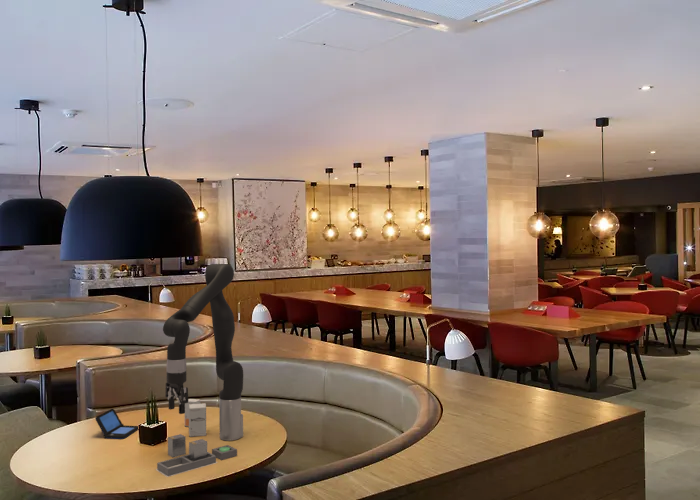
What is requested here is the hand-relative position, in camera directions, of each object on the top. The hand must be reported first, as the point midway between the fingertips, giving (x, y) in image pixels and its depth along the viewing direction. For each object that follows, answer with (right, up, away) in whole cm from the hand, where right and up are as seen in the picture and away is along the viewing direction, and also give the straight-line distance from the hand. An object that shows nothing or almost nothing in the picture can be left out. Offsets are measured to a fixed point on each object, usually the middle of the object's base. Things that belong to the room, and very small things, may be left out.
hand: (176, 411), depth 239 cm
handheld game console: (-34, -18, +30) cm, 49 cm away
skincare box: (-4, -18, +40) cm, 44 cm away
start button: (+19, -16, -1) cm, 25 cm away
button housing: (+19, -18, -1) cm, 26 cm away
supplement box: (+1, -18, +29) cm, 34 cm away
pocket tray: (+7, -18, -12) cm, 23 cm away
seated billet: (+11, -17, -9) cm, 22 cm away
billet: (0, -18, 0) cm, 18 cm away
